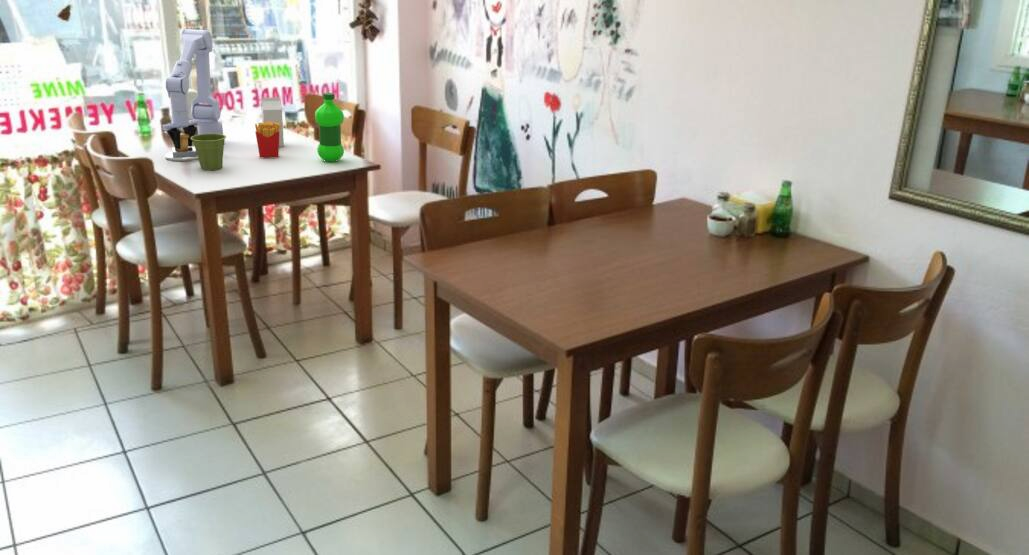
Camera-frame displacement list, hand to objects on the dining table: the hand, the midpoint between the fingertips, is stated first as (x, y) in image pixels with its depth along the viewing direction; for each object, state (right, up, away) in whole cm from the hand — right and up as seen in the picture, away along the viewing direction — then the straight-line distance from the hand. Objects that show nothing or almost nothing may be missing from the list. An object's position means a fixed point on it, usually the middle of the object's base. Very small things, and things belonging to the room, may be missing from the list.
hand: (183, 147), depth 308 cm
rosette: (+3, -3, +3) cm, 5 cm away
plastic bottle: (+53, -4, +7) cm, 54 cm away
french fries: (+29, -2, +9) cm, 31 cm away
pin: (-1, -2, +1) cm, 2 cm away
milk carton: (+26, +4, +25) cm, 37 cm away
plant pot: (+14, -9, -11) cm, 20 cm away
